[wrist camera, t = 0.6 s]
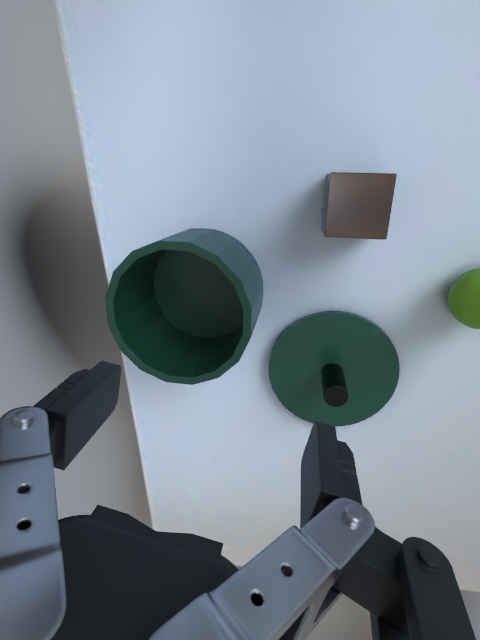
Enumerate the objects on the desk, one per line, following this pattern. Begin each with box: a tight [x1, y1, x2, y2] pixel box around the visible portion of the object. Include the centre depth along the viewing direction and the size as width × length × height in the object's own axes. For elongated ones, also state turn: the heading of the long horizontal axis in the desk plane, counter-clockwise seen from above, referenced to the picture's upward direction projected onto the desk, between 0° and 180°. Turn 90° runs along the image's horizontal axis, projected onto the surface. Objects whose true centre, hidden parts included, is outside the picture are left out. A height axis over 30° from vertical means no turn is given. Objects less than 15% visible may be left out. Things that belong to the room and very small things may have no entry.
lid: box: [269, 311, 399, 426], centre depth 37 cm, size 13×13×6 cm
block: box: [321, 172, 396, 239], centre depth 32 cm, size 5×5×5 cm
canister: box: [105, 229, 263, 385], centre depth 35 cm, size 12×12×10 cm
